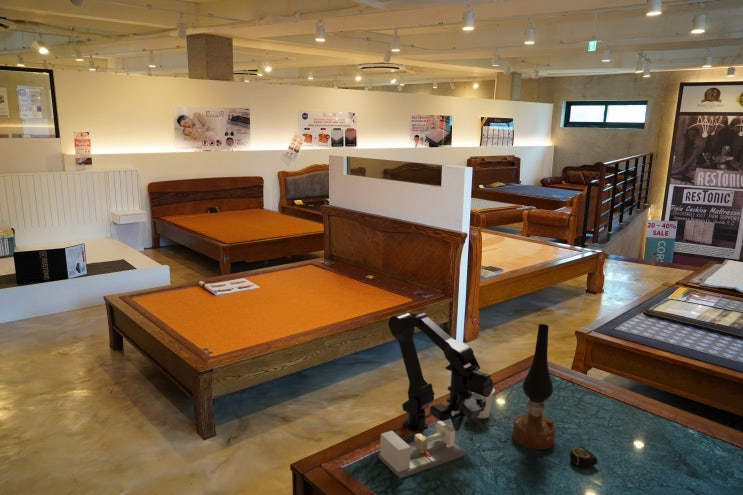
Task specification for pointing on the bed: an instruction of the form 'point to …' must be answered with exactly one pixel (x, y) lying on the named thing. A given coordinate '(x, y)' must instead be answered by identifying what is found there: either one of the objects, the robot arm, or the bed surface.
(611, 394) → the bed surface
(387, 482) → the bed surface
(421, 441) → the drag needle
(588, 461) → the tape measure
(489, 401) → the dixie cup
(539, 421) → the oil lamp
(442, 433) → the plunger
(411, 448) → the base
